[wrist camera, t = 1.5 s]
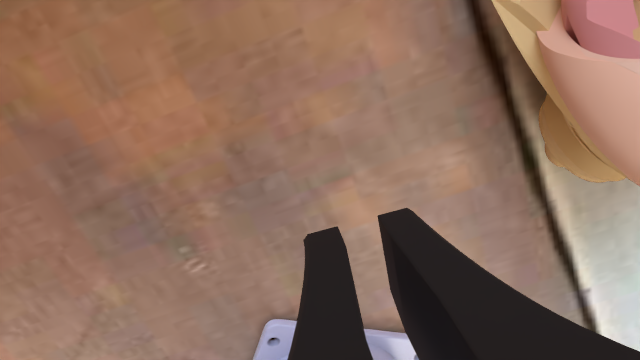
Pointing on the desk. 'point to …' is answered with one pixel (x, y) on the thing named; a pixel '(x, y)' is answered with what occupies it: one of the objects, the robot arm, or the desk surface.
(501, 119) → the desk surface
